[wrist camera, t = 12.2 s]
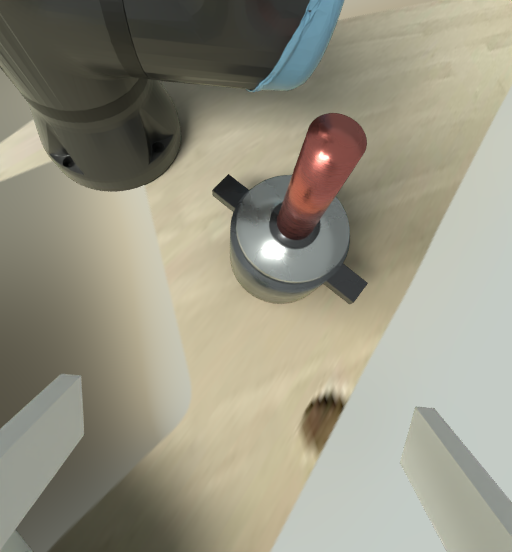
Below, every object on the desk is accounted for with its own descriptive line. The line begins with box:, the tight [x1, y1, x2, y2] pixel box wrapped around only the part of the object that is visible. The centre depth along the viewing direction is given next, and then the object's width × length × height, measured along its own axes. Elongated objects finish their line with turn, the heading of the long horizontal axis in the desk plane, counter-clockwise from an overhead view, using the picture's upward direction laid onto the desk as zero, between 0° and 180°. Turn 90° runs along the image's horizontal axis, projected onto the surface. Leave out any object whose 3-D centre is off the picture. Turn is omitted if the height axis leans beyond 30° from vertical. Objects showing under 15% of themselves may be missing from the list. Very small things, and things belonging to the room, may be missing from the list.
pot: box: [212, 174, 367, 304], centre depth 31 cm, size 17×11×7 cm, turn 51°
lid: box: [236, 113, 367, 285], centre depth 22 cm, size 10×10×12 cm
